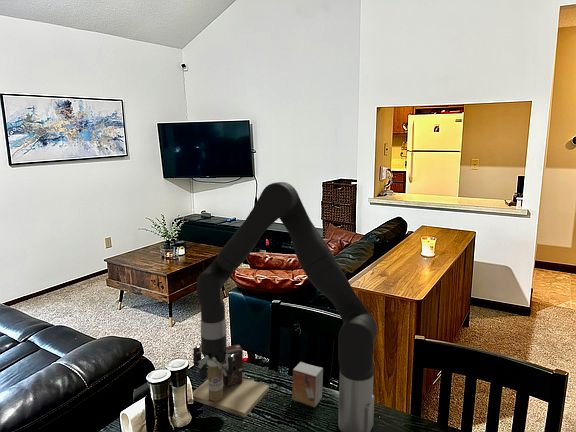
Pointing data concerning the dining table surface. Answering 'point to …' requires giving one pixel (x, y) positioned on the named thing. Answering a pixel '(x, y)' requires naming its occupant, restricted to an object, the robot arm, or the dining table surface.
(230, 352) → the box
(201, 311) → the robot arm
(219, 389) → the sprinkles bottle
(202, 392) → the plywood panel
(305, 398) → the small box
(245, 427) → the dining table surface
